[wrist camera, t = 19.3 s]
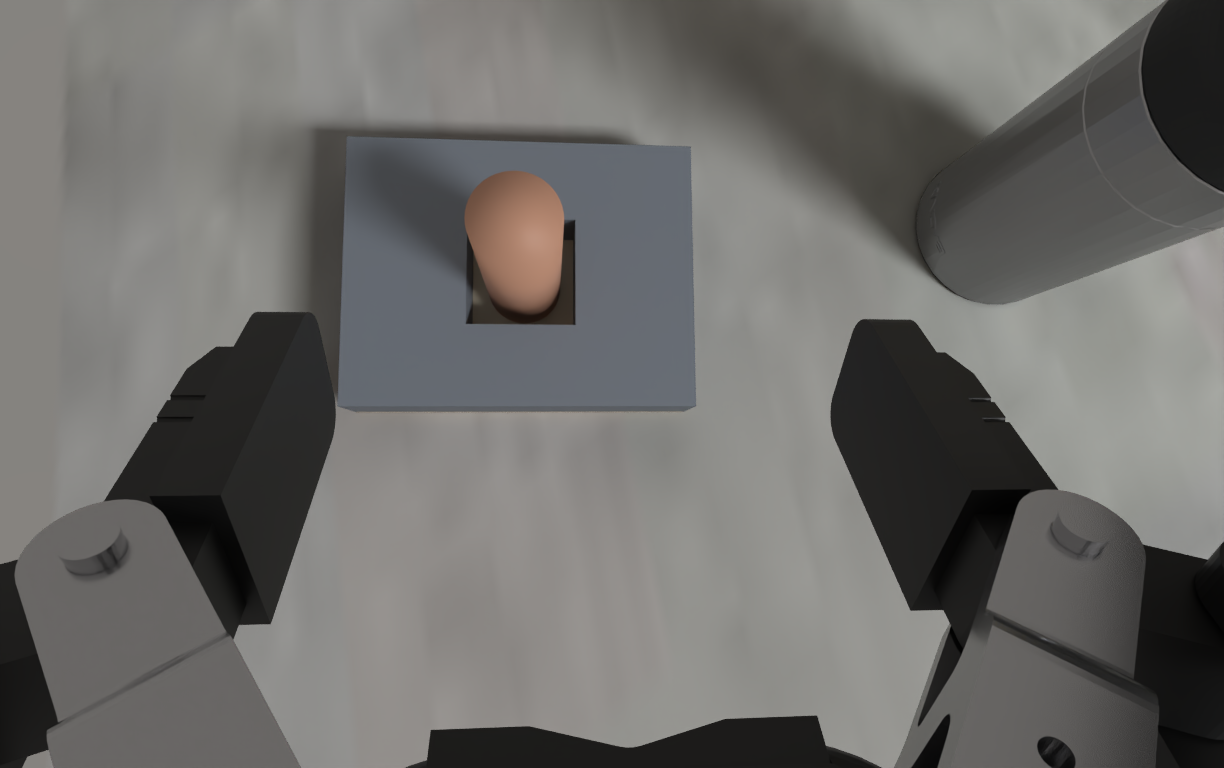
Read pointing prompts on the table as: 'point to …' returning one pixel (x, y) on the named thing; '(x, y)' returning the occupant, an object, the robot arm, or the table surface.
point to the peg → (517, 243)
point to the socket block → (459, 301)
